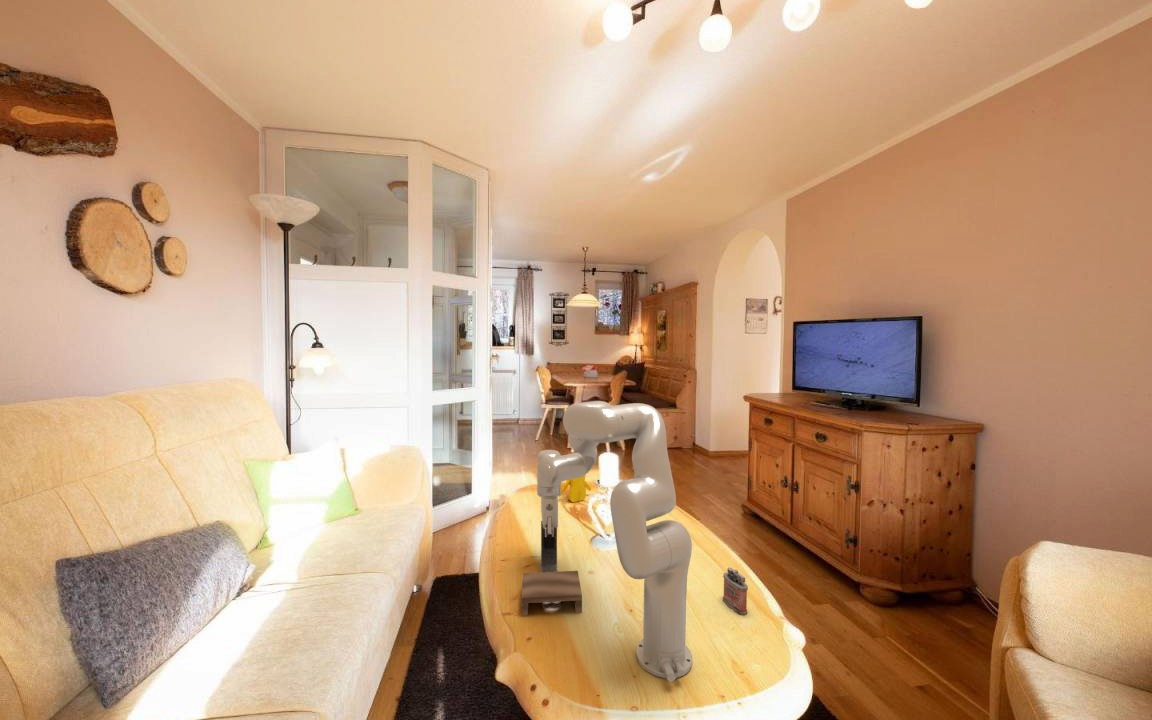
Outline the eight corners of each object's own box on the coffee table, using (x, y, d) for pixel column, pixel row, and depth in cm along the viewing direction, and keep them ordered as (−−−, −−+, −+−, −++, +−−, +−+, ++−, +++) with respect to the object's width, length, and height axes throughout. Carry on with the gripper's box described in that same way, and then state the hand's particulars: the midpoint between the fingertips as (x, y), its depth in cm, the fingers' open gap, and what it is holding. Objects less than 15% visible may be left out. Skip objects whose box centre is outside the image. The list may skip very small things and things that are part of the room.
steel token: (561, 612, 117) (561, 608, 117) (542, 613, 116) (542, 609, 116) (560, 601, 122) (560, 597, 122) (542, 602, 121) (542, 598, 121)
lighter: (719, 599, 122) (720, 565, 122) (729, 597, 123) (730, 562, 123) (740, 616, 115) (740, 580, 114) (750, 614, 116) (751, 577, 115)
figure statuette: (588, 494, 204) (589, 447, 203) (597, 499, 197) (597, 451, 196) (554, 500, 196) (554, 452, 194) (562, 506, 189) (562, 456, 187)
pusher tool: (559, 596, 123) (559, 548, 123) (541, 597, 123) (541, 549, 122) (556, 562, 142) (556, 520, 141) (541, 562, 142) (541, 520, 141)
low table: (581, 612, 116) (582, 594, 116) (521, 616, 115) (521, 597, 114) (577, 587, 128) (577, 570, 128) (522, 589, 127) (522, 573, 126)
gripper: (562, 498, 131) (562, 557, 132) (559, 480, 148) (559, 533, 149) (537, 499, 131) (537, 558, 132) (537, 481, 147) (537, 534, 148)
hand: (548, 544), depth 140 cm, fingers closed on pusher tool, 3 cm apart
